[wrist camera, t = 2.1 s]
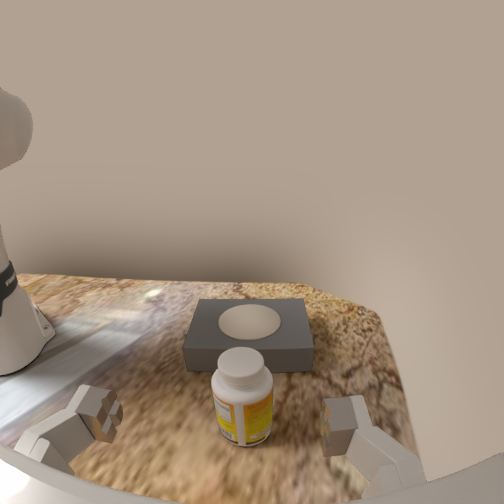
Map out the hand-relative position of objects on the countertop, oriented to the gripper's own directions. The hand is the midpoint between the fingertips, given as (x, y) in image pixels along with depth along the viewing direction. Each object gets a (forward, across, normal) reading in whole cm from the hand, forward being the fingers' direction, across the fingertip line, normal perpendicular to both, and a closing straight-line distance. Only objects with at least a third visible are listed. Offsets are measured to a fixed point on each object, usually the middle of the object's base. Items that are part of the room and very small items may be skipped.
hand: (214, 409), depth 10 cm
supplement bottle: (+12, 0, +19) cm, 22 cm away
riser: (+27, 0, +18) cm, 33 cm away
